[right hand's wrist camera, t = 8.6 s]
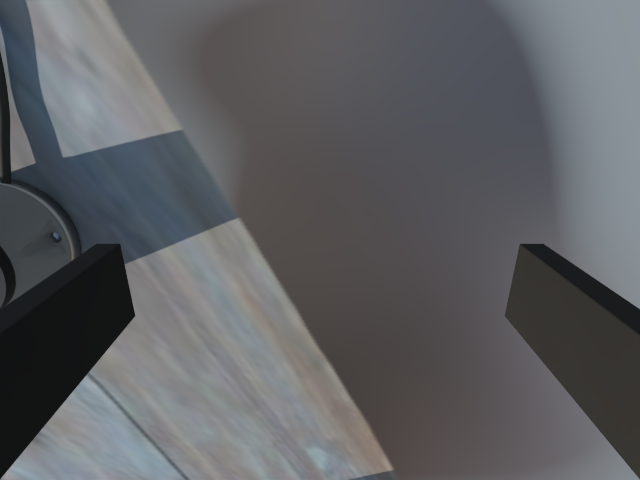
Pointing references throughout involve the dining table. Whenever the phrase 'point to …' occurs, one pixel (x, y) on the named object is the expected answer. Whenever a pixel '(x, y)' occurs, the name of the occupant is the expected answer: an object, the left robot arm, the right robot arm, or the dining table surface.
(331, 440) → the dining table surface
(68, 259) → the right robot arm
